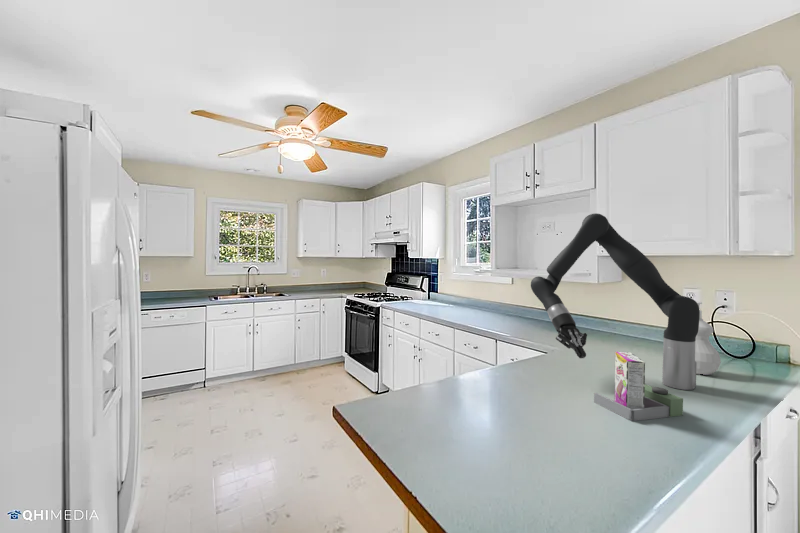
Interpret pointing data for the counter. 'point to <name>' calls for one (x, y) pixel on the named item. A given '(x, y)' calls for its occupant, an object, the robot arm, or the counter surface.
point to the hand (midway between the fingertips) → (583, 357)
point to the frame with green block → (646, 405)
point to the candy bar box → (629, 380)
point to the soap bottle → (705, 349)
